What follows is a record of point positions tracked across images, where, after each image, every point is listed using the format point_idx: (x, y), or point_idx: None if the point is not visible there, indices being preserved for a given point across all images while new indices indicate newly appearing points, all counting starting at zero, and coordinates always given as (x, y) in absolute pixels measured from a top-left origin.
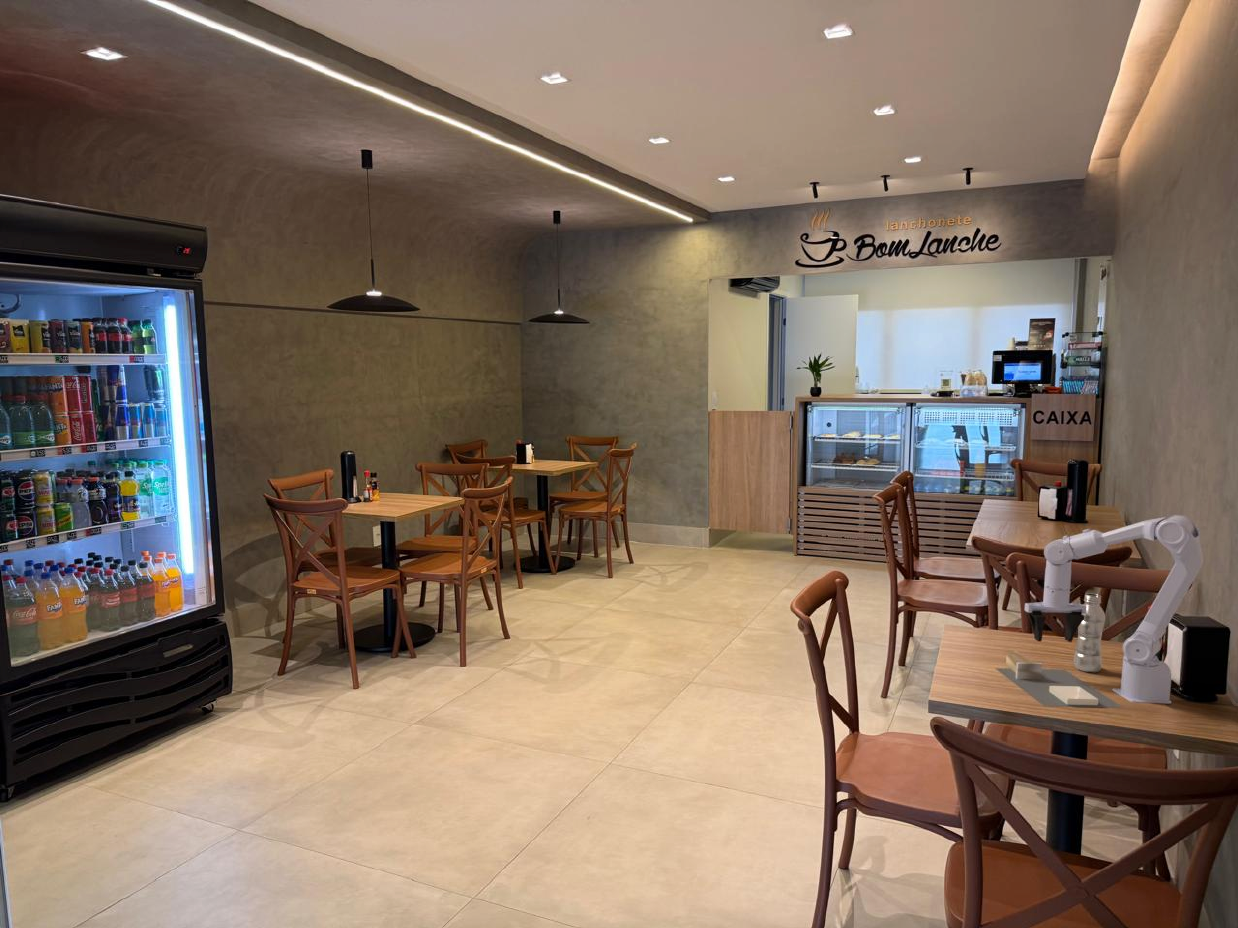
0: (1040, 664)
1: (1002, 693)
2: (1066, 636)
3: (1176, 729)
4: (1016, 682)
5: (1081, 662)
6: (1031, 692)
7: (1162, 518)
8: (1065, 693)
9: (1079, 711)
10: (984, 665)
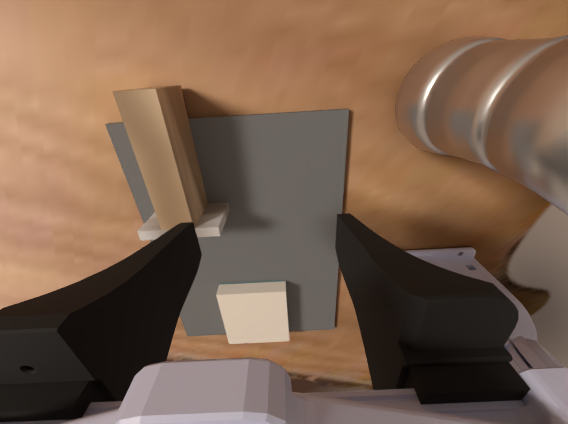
0: (214, 235)
1: None
2: (340, 234)
3: (365, 372)
4: None
5: (406, 133)
6: None
7: None
8: (235, 325)
9: None
10: (72, 77)
